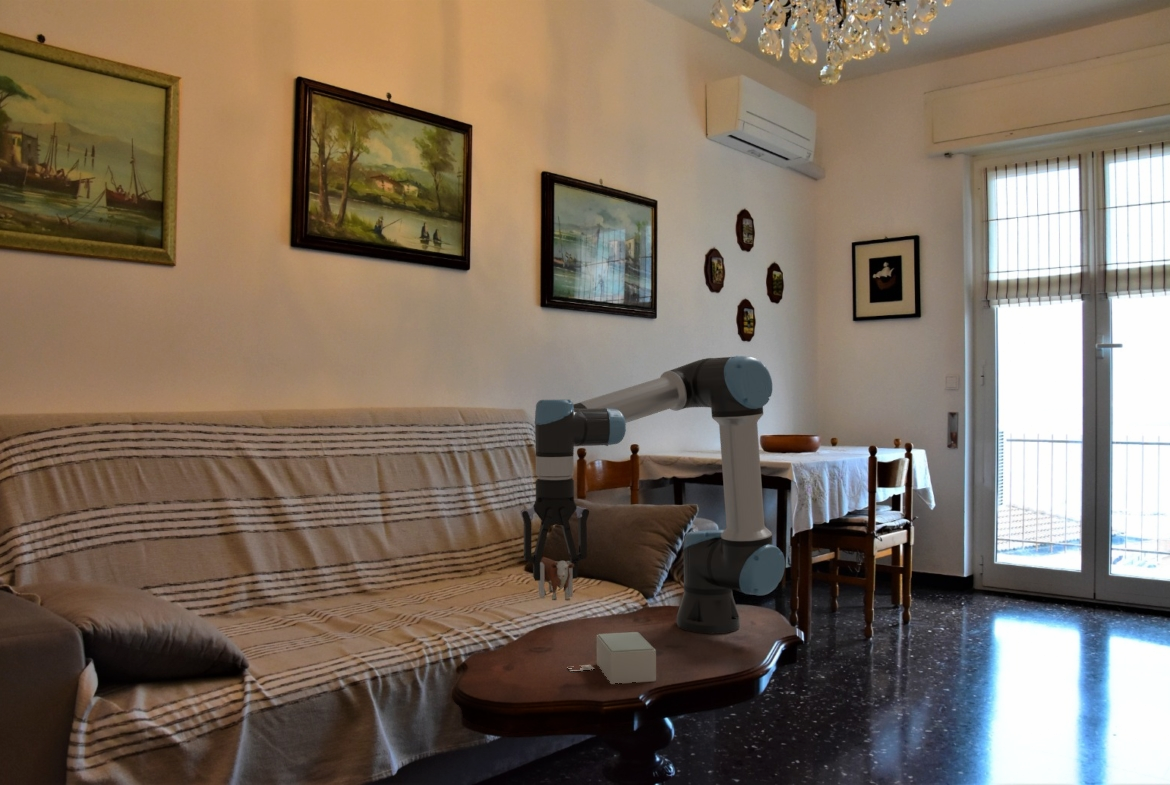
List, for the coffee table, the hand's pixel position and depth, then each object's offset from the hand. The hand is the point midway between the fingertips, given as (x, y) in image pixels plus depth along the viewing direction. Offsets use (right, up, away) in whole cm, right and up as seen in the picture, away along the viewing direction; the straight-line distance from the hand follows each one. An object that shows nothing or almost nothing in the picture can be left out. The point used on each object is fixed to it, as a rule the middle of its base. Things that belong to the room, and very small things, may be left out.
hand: (555, 595), depth 172 cm
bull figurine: (0, -1, 0) cm, 1 cm away
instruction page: (+5, -16, +6) cm, 18 cm away
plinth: (+14, -16, +4) cm, 22 cm away
